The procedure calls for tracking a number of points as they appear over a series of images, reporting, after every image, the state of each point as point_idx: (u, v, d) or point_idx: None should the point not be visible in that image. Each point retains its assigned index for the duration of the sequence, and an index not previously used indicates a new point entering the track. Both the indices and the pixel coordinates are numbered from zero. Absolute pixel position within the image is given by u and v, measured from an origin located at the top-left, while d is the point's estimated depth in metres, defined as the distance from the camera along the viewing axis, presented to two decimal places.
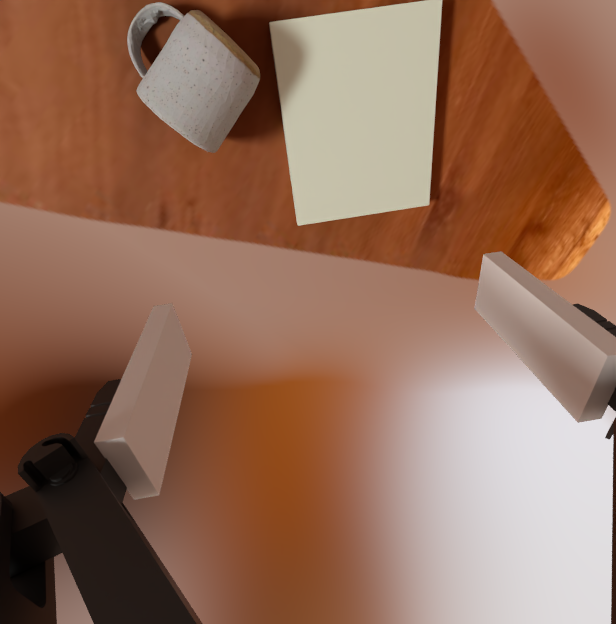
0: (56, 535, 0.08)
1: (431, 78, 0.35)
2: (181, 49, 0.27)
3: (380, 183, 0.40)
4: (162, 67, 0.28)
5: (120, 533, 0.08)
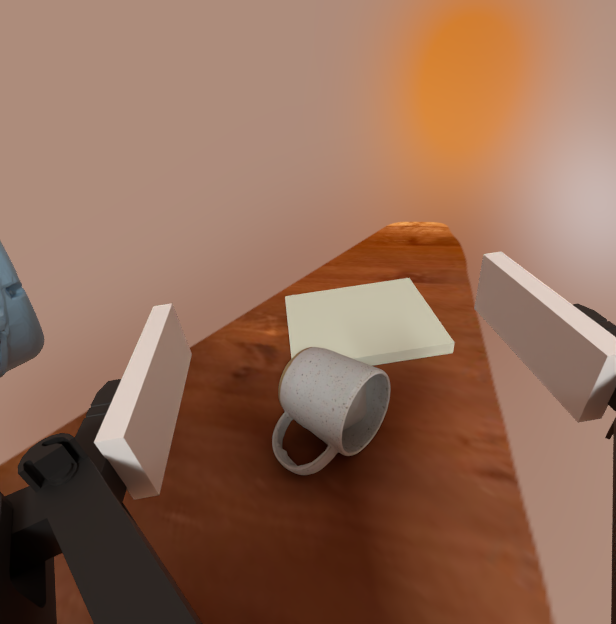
0: (56, 535, 0.08)
1: (325, 292, 0.52)
2: (302, 380, 0.31)
3: (399, 301, 0.48)
4: (316, 397, 0.30)
5: (119, 533, 0.08)
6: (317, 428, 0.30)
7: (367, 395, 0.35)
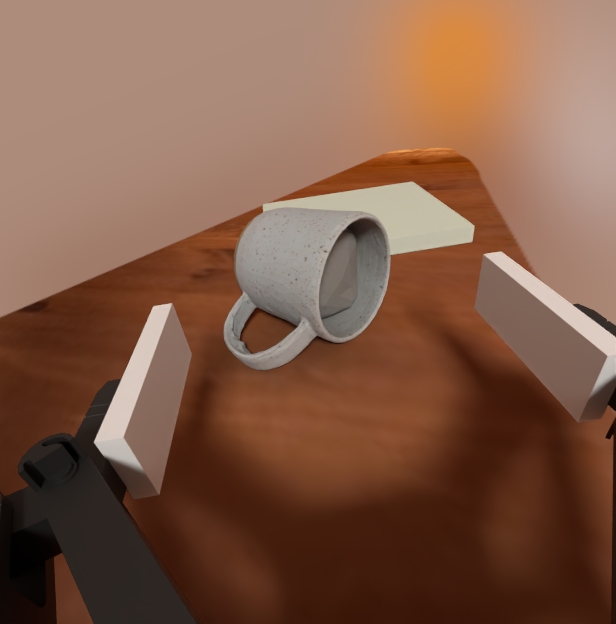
0: (56, 535, 0.08)
1: (312, 198, 0.43)
2: (264, 235, 0.22)
3: (401, 199, 0.39)
4: (282, 250, 0.20)
5: (120, 533, 0.08)
6: (285, 297, 0.21)
7: (358, 276, 0.26)
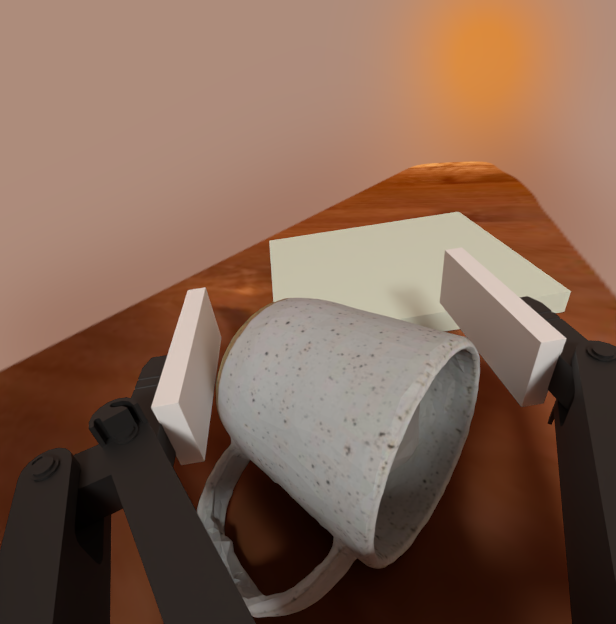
0: (117, 489, 0.08)
1: (331, 233, 0.34)
2: (267, 367, 0.12)
3: (451, 239, 0.30)
4: (300, 412, 0.11)
5: (172, 495, 0.08)
6: (304, 496, 0.11)
7: None
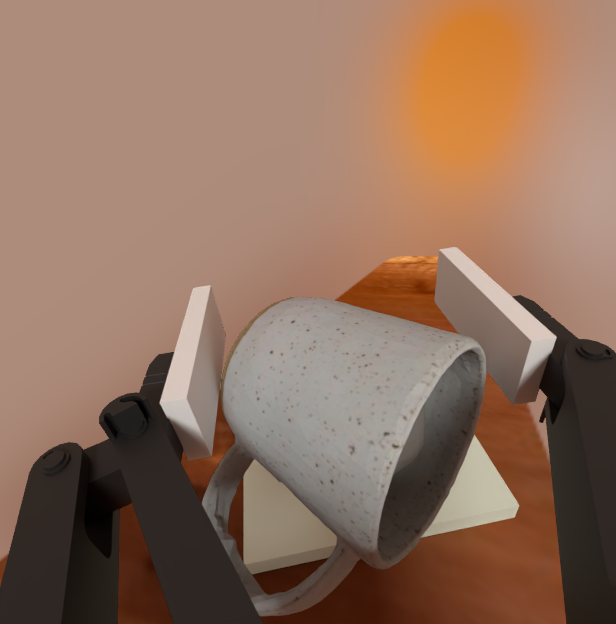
0: (126, 483, 0.08)
1: None
2: (272, 366, 0.12)
3: None
4: (305, 411, 0.11)
5: (180, 491, 0.08)
6: (307, 495, 0.11)
7: None
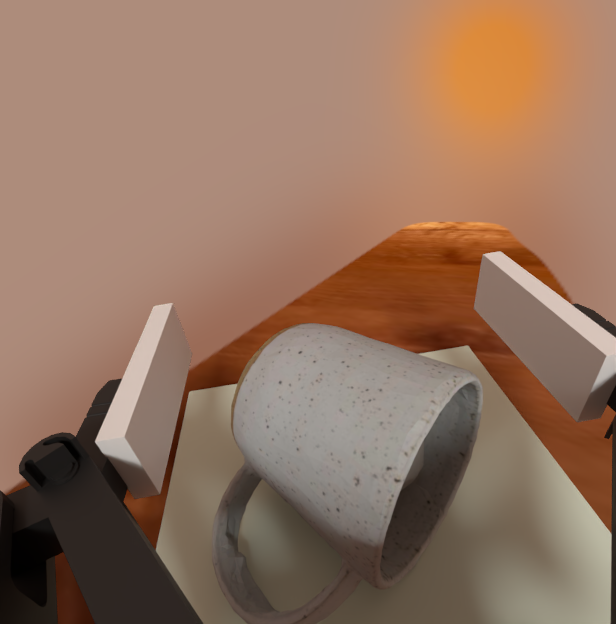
0: (57, 534, 0.08)
1: None
2: (281, 396, 0.13)
3: None
4: (312, 442, 0.12)
5: (120, 533, 0.08)
6: (314, 519, 0.12)
7: None
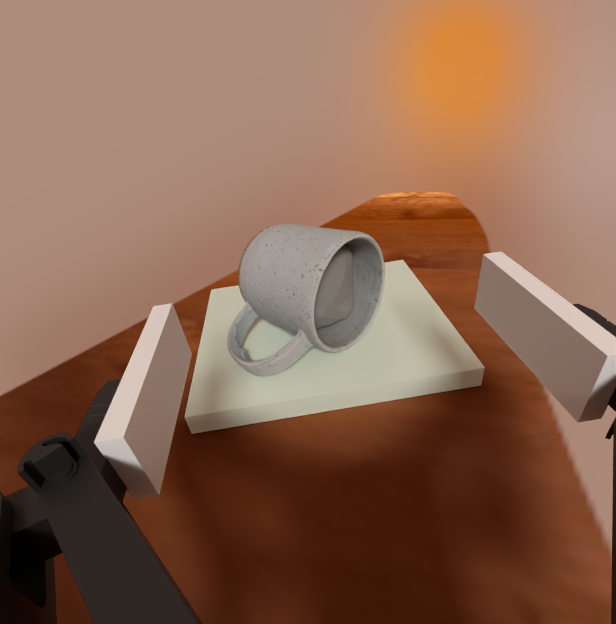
0: (56, 535, 0.08)
1: None
2: (266, 251, 0.23)
3: (386, 295, 0.30)
4: (282, 267, 0.22)
5: (119, 533, 0.08)
6: (283, 310, 0.22)
7: (355, 289, 0.27)
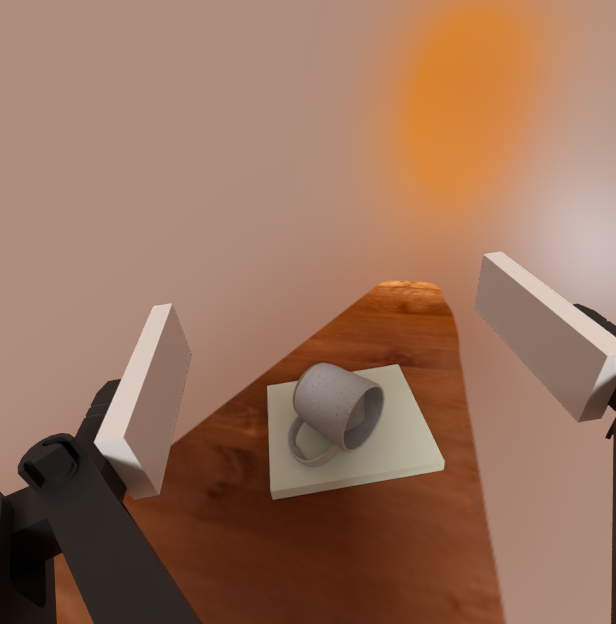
0: (56, 535, 0.08)
1: None
2: (313, 391, 0.39)
3: (387, 398, 0.45)
4: (324, 405, 0.38)
5: (120, 534, 0.08)
6: (324, 429, 0.38)
7: (366, 403, 0.42)
